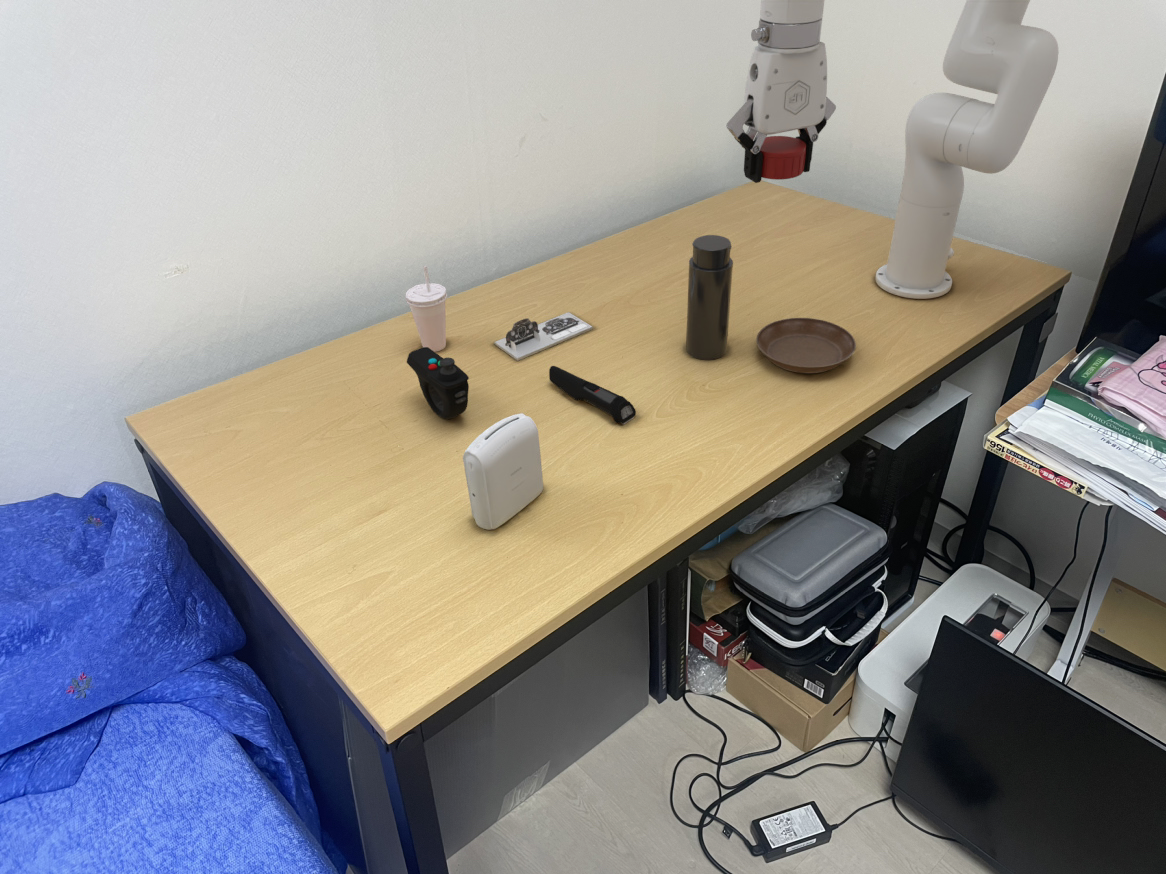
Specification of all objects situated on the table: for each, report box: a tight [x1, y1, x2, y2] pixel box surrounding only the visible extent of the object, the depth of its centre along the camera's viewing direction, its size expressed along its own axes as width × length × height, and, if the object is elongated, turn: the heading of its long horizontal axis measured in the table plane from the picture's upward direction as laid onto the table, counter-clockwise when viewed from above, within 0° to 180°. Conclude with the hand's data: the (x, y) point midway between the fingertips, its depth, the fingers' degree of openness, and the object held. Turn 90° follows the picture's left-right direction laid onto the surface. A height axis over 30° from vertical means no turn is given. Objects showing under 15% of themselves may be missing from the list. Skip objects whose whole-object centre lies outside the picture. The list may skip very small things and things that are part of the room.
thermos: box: [685, 234, 734, 361], centre depth 132 cm, size 6×6×18 cm
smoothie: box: [405, 265, 448, 353], centre depth 137 cm, size 6×6×14 cm
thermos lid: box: [759, 135, 806, 181], centre depth 117 cm, size 7×7×4 cm
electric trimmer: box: [548, 365, 637, 426], centre depth 126 cm, size 4×16×3 cm, turn 45°
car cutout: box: [493, 312, 594, 362], centre depth 141 cm, size 15×7×4 cm, turn 128°
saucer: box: [755, 317, 857, 374], centre depth 134 cm, size 15×15×3 cm
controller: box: [406, 346, 470, 420], centre depth 123 cm, size 4×12×10 cm, turn 38°
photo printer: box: [462, 412, 544, 531], centre depth 105 cm, size 10×4×12 cm, turn 140°
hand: (777, 173), depth 119 cm, fingers closed on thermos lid, 7 cm apart
